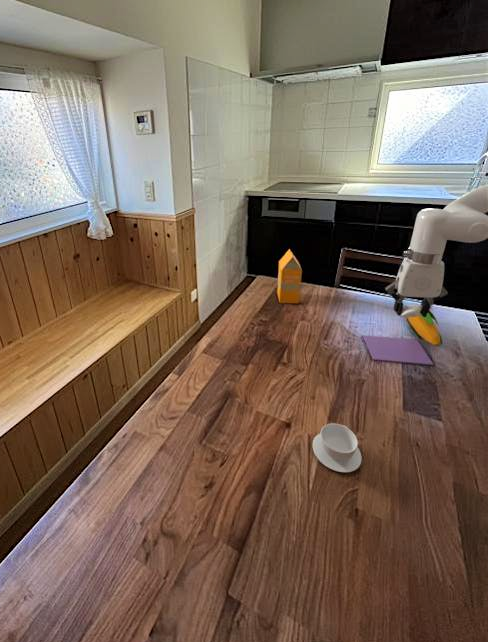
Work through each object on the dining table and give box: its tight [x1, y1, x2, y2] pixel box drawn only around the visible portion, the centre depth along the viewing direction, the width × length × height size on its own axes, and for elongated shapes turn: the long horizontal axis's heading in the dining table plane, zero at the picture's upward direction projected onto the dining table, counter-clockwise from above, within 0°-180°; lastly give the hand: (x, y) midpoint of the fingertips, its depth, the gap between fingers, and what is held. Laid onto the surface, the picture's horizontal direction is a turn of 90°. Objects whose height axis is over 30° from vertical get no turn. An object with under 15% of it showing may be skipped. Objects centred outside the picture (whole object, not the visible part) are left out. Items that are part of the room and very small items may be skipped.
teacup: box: [312, 423, 363, 473], centre depth 73 cm, size 10×10×5 cm
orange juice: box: [276, 248, 303, 304], centre depth 134 cm, size 8×9×20 cm
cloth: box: [362, 335, 434, 366], centre depth 104 cm, size 16×12×1 cm
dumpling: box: [399, 304, 423, 319], centre depth 96 cm, size 7×5×4 cm
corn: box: [406, 310, 444, 347], centre depth 109 cm, size 7×8×20 cm
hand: (410, 313), depth 97 cm, fingers closed on dumpling, 5 cm apart
